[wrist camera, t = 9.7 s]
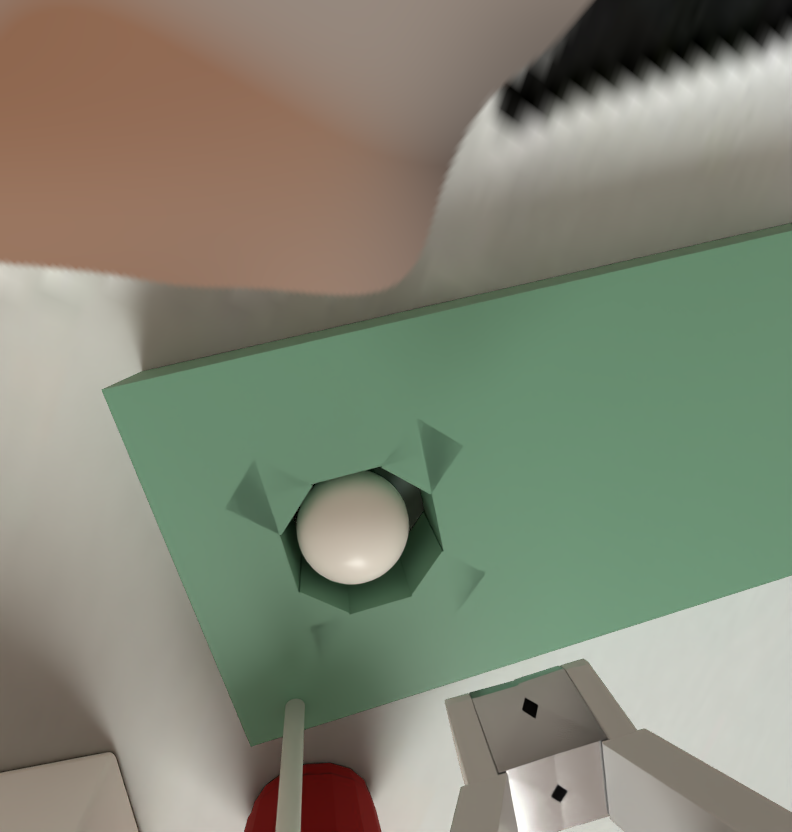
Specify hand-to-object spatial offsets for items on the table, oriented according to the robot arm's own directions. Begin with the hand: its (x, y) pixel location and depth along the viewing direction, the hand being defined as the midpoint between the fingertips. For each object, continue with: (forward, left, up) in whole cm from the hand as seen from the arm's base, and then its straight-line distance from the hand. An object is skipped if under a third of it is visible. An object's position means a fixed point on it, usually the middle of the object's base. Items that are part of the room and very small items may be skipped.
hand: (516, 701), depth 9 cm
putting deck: (-5, 0, -10) cm, 11 cm away
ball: (+3, -1, -8) cm, 8 cm away
